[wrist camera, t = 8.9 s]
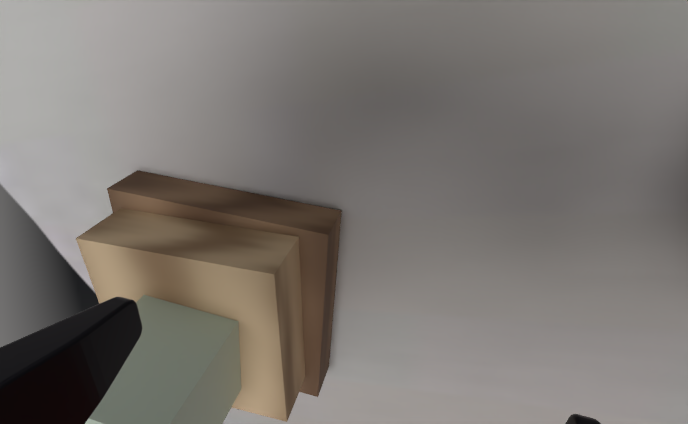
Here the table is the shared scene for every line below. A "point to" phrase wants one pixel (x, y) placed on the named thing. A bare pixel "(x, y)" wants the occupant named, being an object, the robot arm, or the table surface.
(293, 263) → the oak slab
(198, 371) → the sage block
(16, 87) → the table surface
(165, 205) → the walnut slab
